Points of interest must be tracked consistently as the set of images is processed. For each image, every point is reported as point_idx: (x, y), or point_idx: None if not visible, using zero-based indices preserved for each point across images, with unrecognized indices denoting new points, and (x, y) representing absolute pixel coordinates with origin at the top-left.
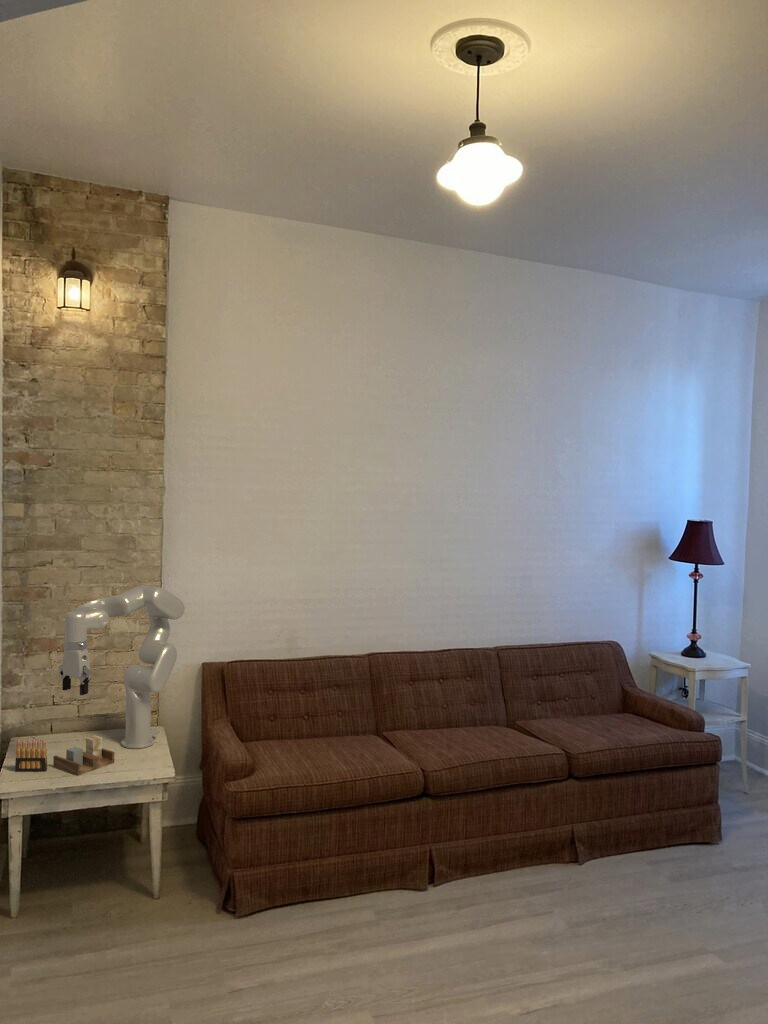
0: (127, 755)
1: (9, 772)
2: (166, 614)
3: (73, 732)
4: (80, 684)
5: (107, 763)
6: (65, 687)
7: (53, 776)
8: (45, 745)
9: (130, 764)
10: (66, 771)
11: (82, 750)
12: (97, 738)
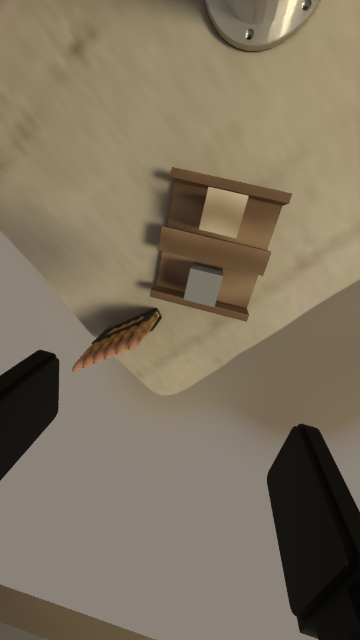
0: (291, 119)
1: None
2: None
3: None
4: (311, 635)
5: (275, 223)
6: (42, 418)
7: (195, 333)
8: (140, 339)
9: (339, 187)
10: None
11: (222, 276)
12: (239, 213)
